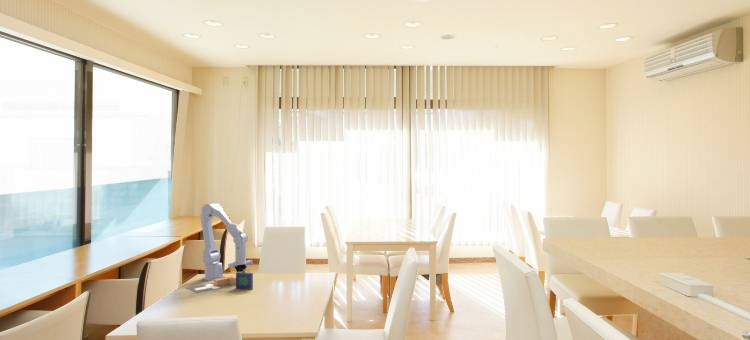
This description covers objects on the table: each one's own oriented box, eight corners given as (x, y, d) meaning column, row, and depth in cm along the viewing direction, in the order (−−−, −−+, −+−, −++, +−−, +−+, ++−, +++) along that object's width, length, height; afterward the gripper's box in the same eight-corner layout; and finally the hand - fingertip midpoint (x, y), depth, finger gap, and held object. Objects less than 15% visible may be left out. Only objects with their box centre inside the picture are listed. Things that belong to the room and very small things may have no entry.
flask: (253, 288, 247) (253, 268, 247) (251, 290, 244) (251, 270, 244) (236, 288, 248) (236, 268, 247) (234, 289, 245) (234, 269, 245)
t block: (227, 280, 262) (227, 275, 262) (236, 283, 255) (236, 278, 255) (211, 283, 255) (211, 278, 255) (220, 287, 248) (220, 281, 248)
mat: (237, 278, 268) (237, 277, 268) (250, 282, 259) (250, 282, 259) (185, 288, 246) (185, 287, 246) (196, 293, 236) (196, 293, 236)
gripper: (232, 257, 254) (232, 281, 254) (255, 253, 264) (255, 277, 265) (226, 255, 259) (226, 279, 259) (248, 252, 269) (248, 274, 269)
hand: (240, 278), depth 262 cm, fingers closed
